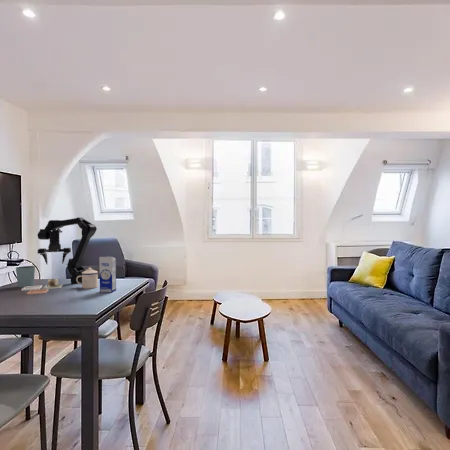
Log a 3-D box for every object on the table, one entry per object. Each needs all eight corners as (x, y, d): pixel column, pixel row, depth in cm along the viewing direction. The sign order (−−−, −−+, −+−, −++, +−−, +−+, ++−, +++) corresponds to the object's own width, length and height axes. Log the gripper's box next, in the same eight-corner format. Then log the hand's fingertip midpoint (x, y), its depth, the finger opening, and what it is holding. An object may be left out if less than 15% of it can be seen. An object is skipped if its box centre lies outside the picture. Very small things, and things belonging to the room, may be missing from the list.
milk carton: (99, 292, 189) (99, 256, 189) (104, 290, 196) (103, 255, 195) (112, 292, 189) (111, 256, 188) (116, 290, 195) (116, 255, 195)
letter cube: (58, 286, 205) (57, 278, 204) (56, 287, 200) (56, 279, 200) (49, 286, 203) (49, 279, 203) (48, 288, 199) (48, 280, 199)
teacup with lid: (98, 285, 210) (97, 266, 210) (98, 288, 202) (98, 268, 201) (76, 286, 206) (76, 267, 206) (76, 289, 197) (75, 269, 197)
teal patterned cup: (28, 288, 203) (28, 267, 203) (12, 288, 203) (11, 268, 203) (38, 284, 213) (38, 265, 213) (22, 285, 213) (22, 265, 213)
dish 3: (62, 286, 207) (62, 284, 207) (60, 289, 199) (60, 286, 199) (46, 287, 205) (46, 285, 205) (43, 290, 196) (43, 287, 196)
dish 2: (48, 291, 193) (48, 288, 193) (45, 294, 185) (45, 292, 185) (30, 292, 191) (30, 289, 191) (26, 295, 182) (26, 293, 182)
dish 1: (42, 287, 204) (42, 285, 204) (39, 290, 196) (39, 288, 195) (25, 288, 201) (25, 286, 201) (21, 291, 193) (21, 289, 193)
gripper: (35, 240, 209) (35, 266, 209) (68, 240, 215) (69, 264, 215) (39, 239, 220) (39, 264, 220) (71, 239, 226) (71, 262, 226)
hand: (54, 264), depth 220 cm, fingers open, 9 cm apart
